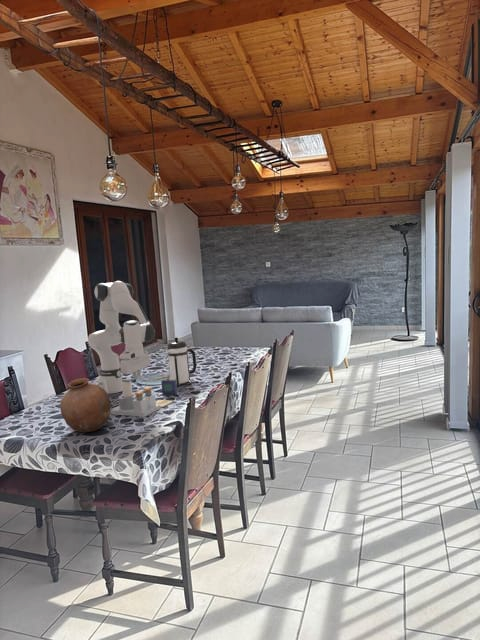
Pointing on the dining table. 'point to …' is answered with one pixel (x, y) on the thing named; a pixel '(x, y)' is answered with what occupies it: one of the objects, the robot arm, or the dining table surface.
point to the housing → (136, 406)
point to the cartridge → (127, 388)
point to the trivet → (163, 403)
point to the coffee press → (180, 361)
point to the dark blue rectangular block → (169, 386)
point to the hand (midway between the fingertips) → (137, 378)
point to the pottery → (85, 406)
